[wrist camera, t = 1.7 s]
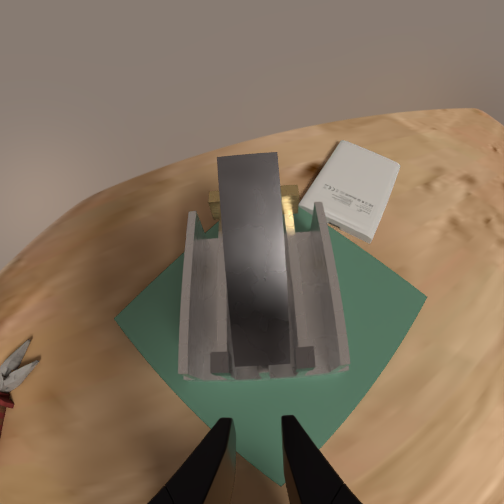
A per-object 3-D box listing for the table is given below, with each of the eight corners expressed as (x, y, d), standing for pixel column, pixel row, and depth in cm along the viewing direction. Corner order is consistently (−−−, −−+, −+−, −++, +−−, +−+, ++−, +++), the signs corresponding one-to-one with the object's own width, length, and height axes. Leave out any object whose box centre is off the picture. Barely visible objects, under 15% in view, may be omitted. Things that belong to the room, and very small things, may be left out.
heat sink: (344, 373, 20) (375, 357, 14) (189, 382, 21) (151, 370, 14) (324, 239, 26) (337, 183, 20) (194, 248, 27) (170, 196, 20)
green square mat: (422, 301, 23) (427, 297, 22) (280, 483, 17) (280, 486, 16) (262, 190, 31) (262, 183, 30) (119, 322, 25) (113, 318, 24)
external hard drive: (397, 173, 32) (368, 246, 27) (339, 148, 35) (296, 212, 30) (401, 164, 31) (373, 237, 26) (340, 138, 33) (297, 202, 28)
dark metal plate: (289, 357, 16) (290, 363, 15) (236, 360, 16) (234, 366, 15) (276, 155, 15) (277, 152, 14) (219, 160, 15) (216, 157, 14)
